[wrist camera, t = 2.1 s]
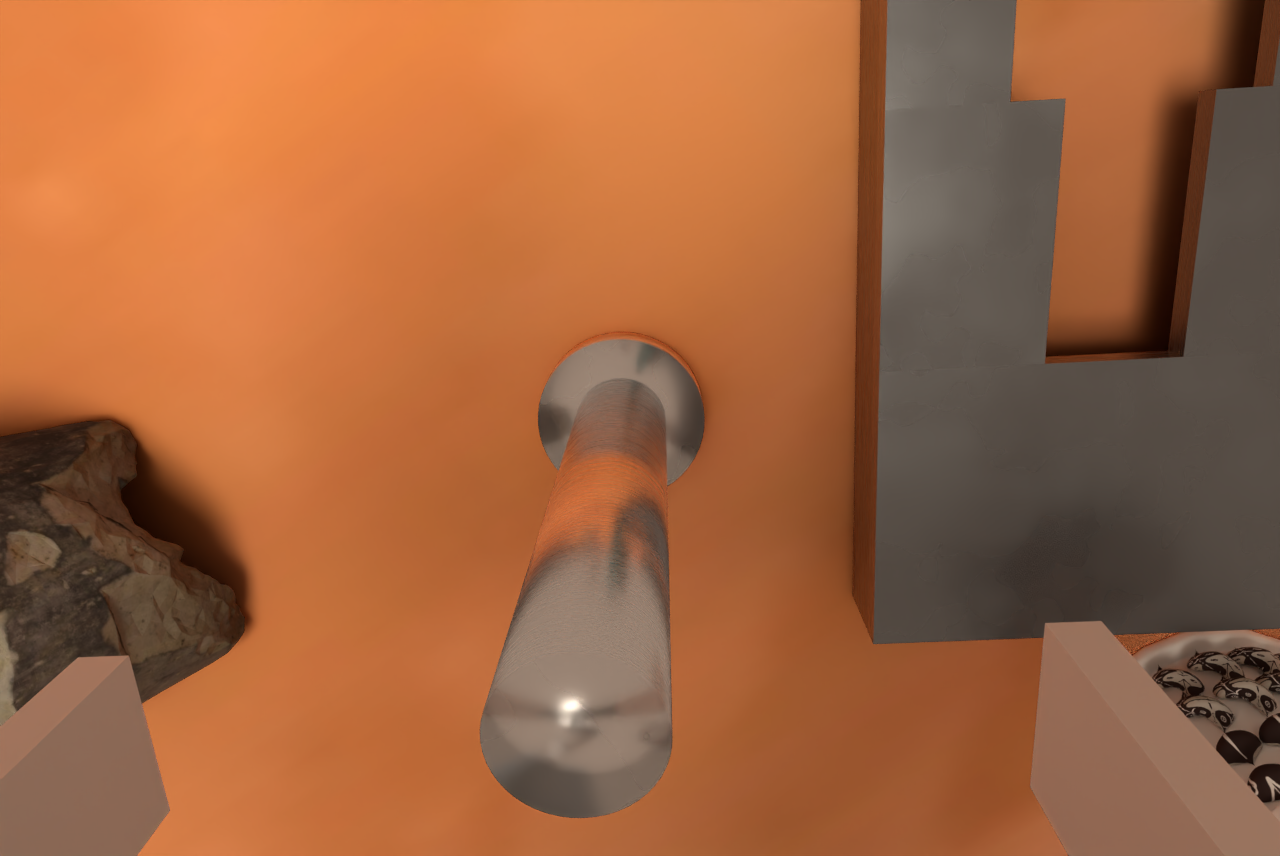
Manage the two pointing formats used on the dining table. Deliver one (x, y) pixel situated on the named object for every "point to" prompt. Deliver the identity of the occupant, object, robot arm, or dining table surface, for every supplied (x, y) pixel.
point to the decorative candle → (1227, 698)
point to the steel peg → (597, 586)
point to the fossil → (94, 570)
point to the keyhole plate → (1052, 362)
